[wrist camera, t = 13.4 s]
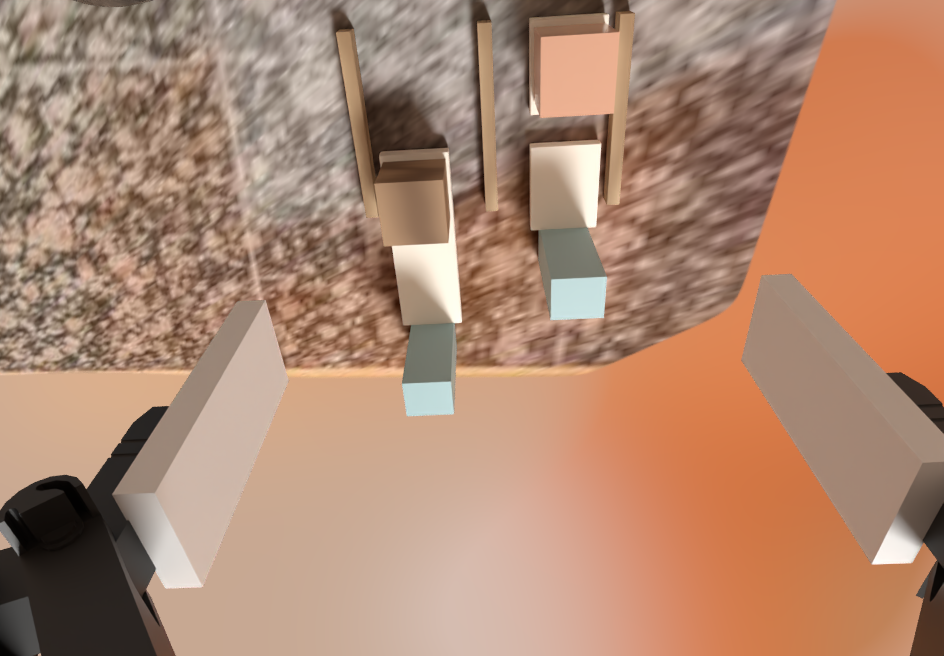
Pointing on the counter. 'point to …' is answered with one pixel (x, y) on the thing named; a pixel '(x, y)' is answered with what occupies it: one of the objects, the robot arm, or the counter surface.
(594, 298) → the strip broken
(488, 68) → the lane frame
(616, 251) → the counter surface
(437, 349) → the multicoloured block
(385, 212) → the block walnut
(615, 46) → the block clay
